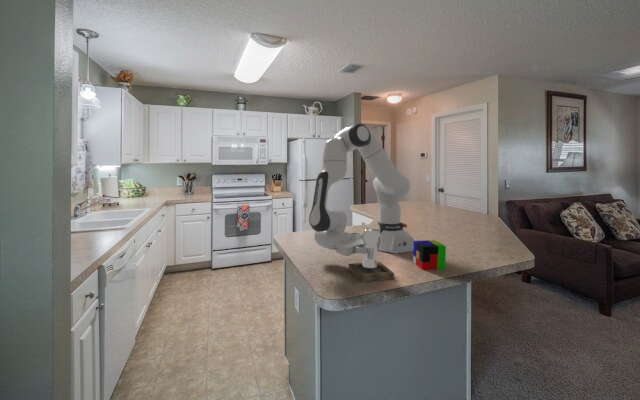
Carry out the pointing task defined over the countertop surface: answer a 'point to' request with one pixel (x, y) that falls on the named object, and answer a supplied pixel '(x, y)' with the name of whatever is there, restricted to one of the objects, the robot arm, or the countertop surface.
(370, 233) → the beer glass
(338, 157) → the robot arm
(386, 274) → the cradle jig
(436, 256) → the puzzle toy
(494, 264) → the countertop surface
